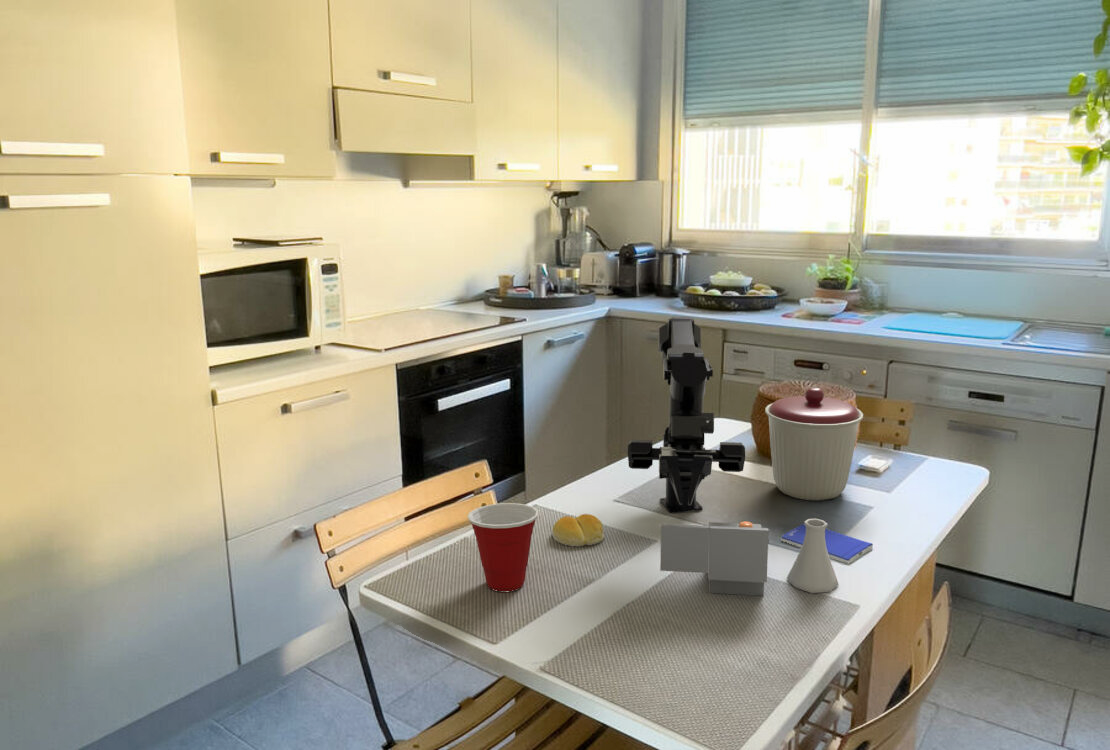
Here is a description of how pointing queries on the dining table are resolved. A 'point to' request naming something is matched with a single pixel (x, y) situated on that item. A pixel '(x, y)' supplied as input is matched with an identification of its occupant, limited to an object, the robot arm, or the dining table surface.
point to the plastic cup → (504, 542)
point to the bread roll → (578, 530)
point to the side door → (716, 551)
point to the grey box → (735, 586)
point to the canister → (812, 444)
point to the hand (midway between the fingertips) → (685, 504)
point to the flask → (813, 561)
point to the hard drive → (832, 544)
